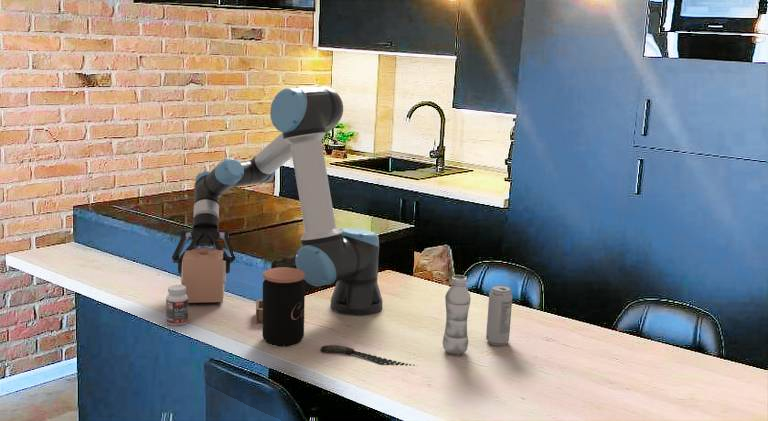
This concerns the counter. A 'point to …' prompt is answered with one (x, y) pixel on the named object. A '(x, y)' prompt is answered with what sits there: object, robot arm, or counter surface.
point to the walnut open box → (259, 311)
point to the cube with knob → (203, 275)
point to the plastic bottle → (456, 316)
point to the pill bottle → (177, 305)
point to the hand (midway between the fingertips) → (203, 282)
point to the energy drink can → (499, 315)
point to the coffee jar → (283, 306)
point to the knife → (358, 354)
